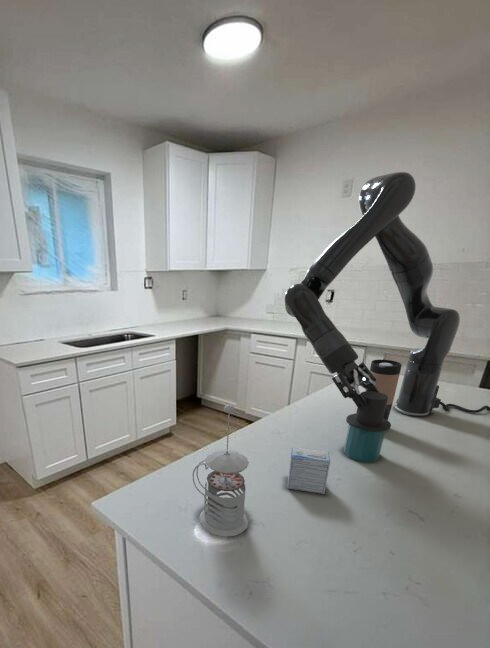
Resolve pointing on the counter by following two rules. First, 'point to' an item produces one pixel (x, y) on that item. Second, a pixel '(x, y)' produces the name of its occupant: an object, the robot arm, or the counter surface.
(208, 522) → the french press
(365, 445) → the cup
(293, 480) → the medicine box
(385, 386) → the travel mug
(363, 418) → the dark grey top hat
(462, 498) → the counter surface
